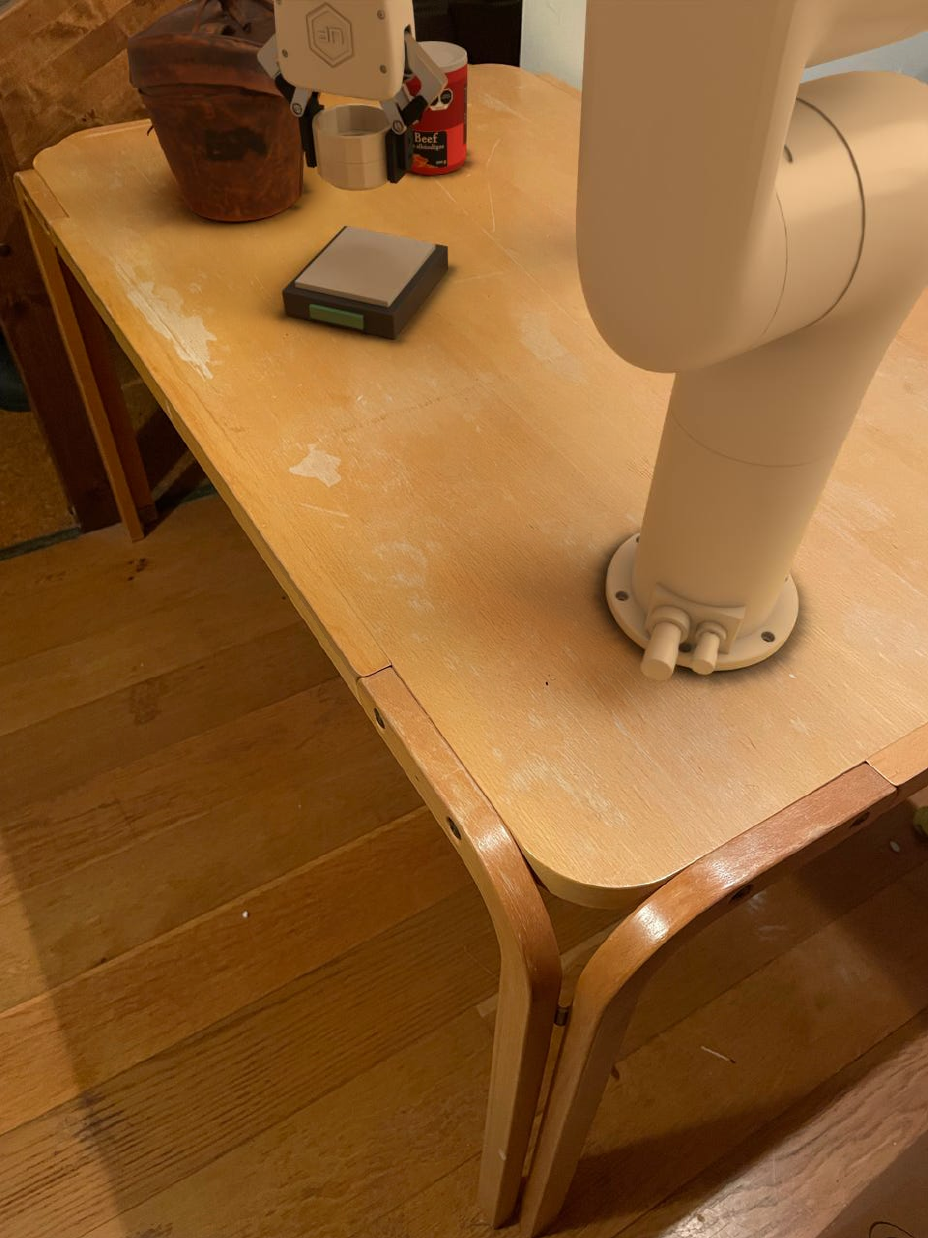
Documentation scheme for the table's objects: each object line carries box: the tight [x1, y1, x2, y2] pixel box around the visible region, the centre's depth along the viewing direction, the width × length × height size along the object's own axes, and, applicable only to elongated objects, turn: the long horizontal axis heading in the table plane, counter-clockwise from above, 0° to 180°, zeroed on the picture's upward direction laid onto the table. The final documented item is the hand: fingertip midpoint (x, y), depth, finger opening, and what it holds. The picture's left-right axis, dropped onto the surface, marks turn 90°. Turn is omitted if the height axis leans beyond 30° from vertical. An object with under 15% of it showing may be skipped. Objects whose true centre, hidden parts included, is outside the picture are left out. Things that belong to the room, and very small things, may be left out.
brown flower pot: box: [125, 0, 305, 222], centre depth 90 cm, size 18×20×18 cm
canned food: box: [405, 40, 468, 176], centre depth 98 cm, size 8×8×11 cm
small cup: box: [312, 102, 391, 192], centre depth 75 cm, size 7×7×4 cm
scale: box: [281, 225, 449, 340], centre depth 84 cm, size 14×11×3 cm
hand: (358, 167), depth 76 cm, fingers closed on small cup, 6 cm apart
